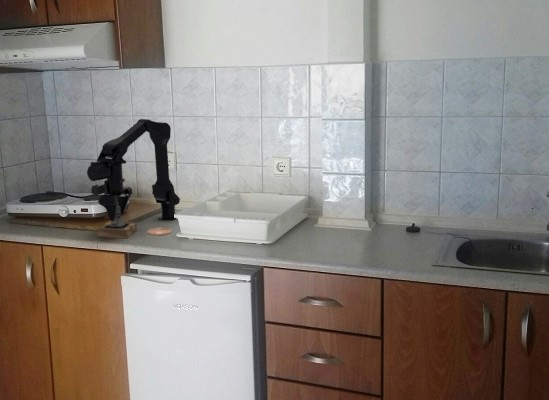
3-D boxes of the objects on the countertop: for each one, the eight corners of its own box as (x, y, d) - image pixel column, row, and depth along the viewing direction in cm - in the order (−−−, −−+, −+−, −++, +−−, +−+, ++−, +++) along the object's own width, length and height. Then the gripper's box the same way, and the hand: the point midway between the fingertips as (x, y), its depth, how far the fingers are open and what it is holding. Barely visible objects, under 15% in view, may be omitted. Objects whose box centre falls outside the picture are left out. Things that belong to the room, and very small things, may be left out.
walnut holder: (109, 229, 238) (109, 221, 237) (136, 230, 236) (136, 222, 236) (97, 237, 227) (97, 229, 226) (126, 238, 226) (126, 230, 225)
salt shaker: (123, 235, 229) (121, 204, 226) (107, 235, 229) (105, 204, 226) (127, 231, 234) (125, 200, 232) (112, 231, 235) (110, 200, 232)
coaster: (152, 228, 238) (151, 227, 238) (174, 229, 237) (174, 227, 237) (144, 234, 230) (144, 233, 230) (167, 235, 229) (167, 234, 228)
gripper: (103, 171, 237) (106, 211, 240) (82, 181, 219) (85, 223, 222) (131, 172, 235) (133, 212, 239) (112, 182, 217) (115, 224, 221)
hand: (117, 217), depth 230 cm, fingers open, 9 cm apart
